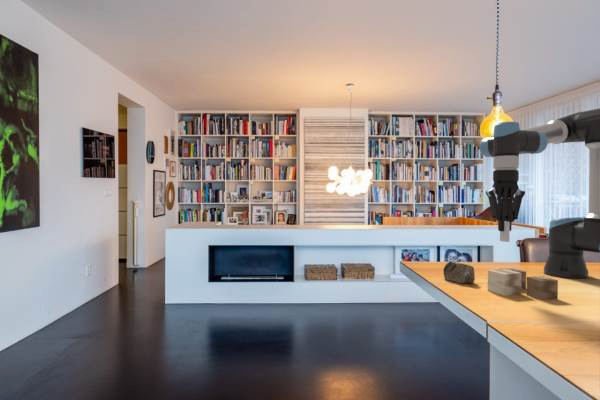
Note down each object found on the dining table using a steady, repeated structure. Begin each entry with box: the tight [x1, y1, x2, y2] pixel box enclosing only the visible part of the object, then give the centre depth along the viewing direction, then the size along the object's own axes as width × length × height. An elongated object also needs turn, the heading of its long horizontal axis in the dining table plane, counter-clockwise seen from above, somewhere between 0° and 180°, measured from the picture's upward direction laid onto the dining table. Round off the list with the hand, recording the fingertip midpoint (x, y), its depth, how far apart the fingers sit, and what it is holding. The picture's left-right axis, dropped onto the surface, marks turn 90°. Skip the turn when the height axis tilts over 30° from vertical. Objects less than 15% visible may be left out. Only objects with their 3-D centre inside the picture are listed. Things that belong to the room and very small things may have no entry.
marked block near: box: [505, 267, 527, 290], centre depth 141 cm, size 6×6×6 cm
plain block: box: [487, 268, 522, 297], centre depth 133 cm, size 7×7×7 cm
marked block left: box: [525, 275, 559, 301], centre depth 127 cm, size 6×6×6 cm
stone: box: [443, 260, 476, 284], centre depth 150 cm, size 7×12×7 cm, turn 33°
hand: (504, 241), depth 132 cm, fingers closed
